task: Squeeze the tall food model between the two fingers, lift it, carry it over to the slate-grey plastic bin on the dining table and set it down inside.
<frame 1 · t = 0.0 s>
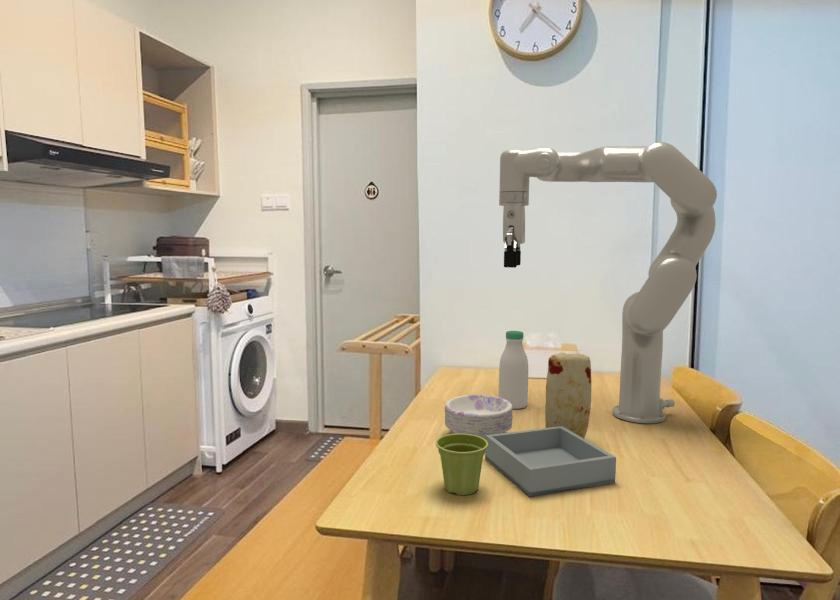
hand: (512, 266, 150), 37 cm above the table, tool pointing down, fingers open, 9 cm apart
food model: (566, 441, 129), on the table
milk bottle: (512, 406, 154), on the table
paper bowls: (478, 438, 130), on the table
bin: (546, 470, 112), on the table
plant pot: (461, 489, 104), on the table
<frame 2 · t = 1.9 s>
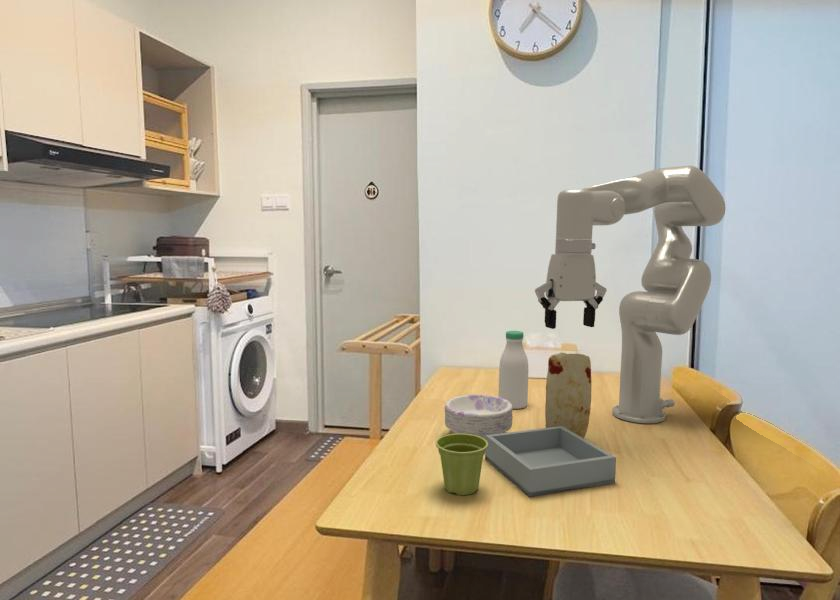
hand: (569, 327, 126), 26 cm above the table, tool pointing down, fingers open, 9 cm apart
nothing on the table moved.
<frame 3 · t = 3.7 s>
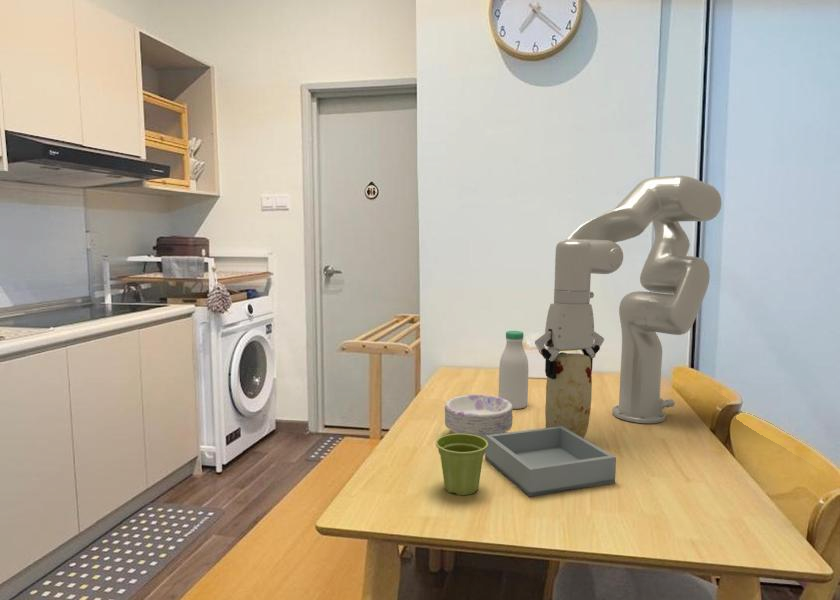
hand: (568, 376, 127), 15 cm above the table, tool pointing down, fingers closed on food model, 8 cm apart
food model: (566, 440, 129), on the table, touching gripper
everything else where it was.
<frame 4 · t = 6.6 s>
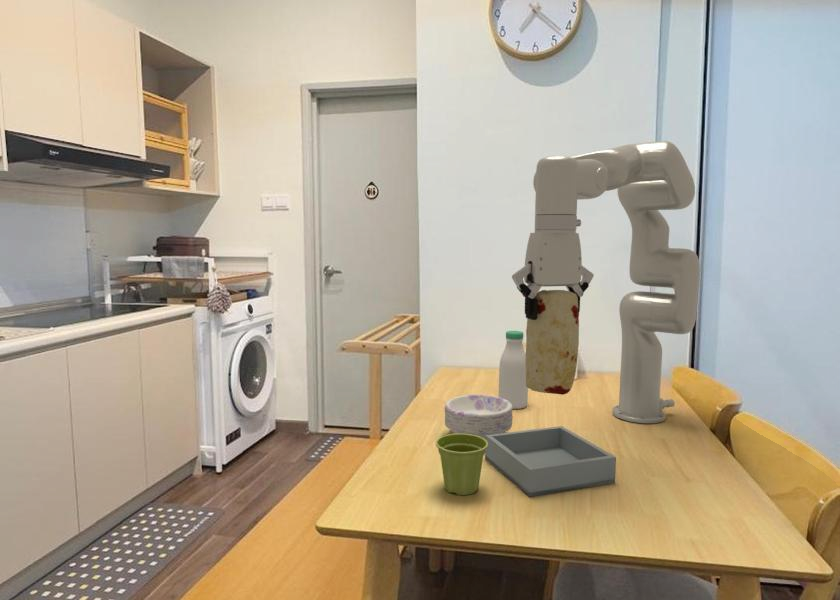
hand: (552, 317, 109), 30 cm above the table, tool pointing down, fingers closed on food model, 8 cm apart
food model: (550, 393, 111), point 15 cm above the table, touching gripper
everything else where it was.
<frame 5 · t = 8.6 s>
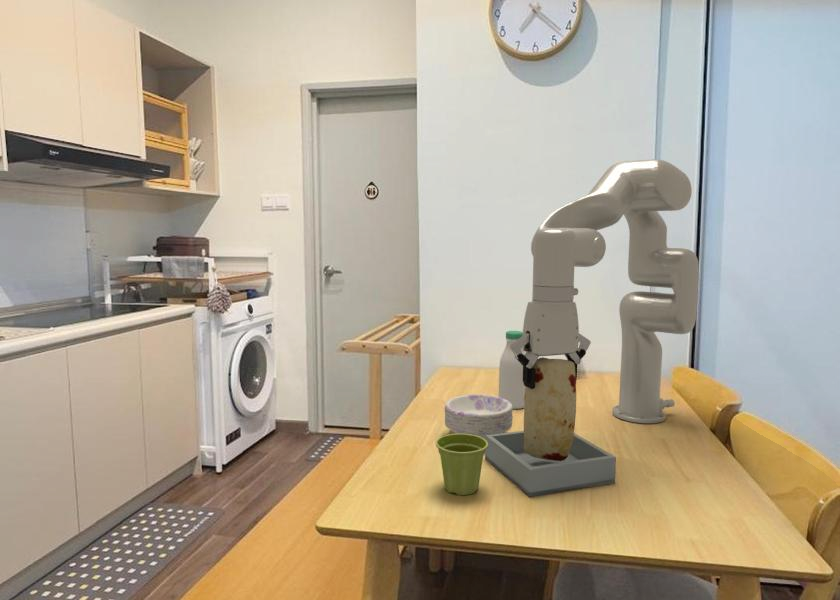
hand: (549, 384, 110), 17 cm above the table, tool pointing down, fingers closed on food model, 8 cm apart
food model: (548, 458, 112), point 2 cm above the table, touching gripper
everything else where it was.
when the fingers open (17 cm above the table, at t = 9.7 s): food model drops 1 cm, resting on bin.
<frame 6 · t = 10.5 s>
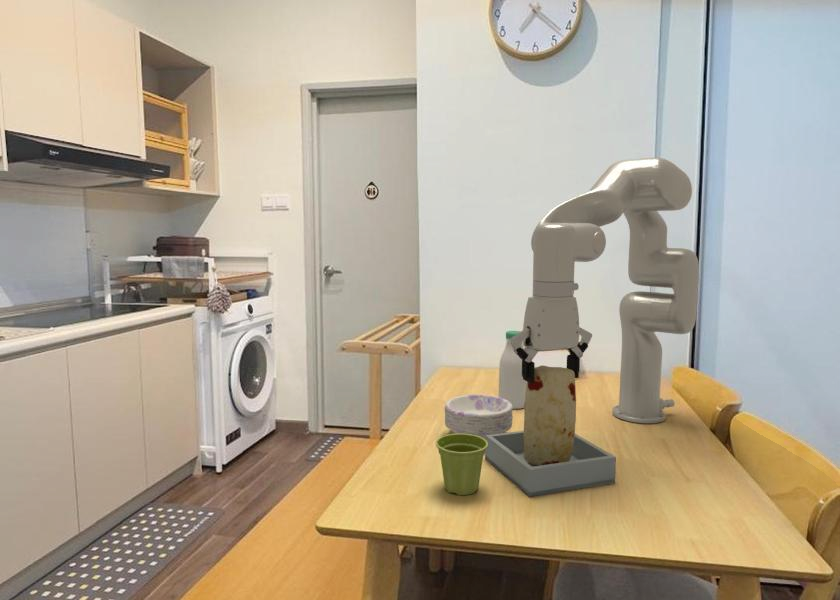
hand: (550, 378, 110), 18 cm above the table, tool pointing down, fingers open, 9 cm apart
food model: (547, 466, 113), point 1 cm above the table, touching bin
everything else where it was.
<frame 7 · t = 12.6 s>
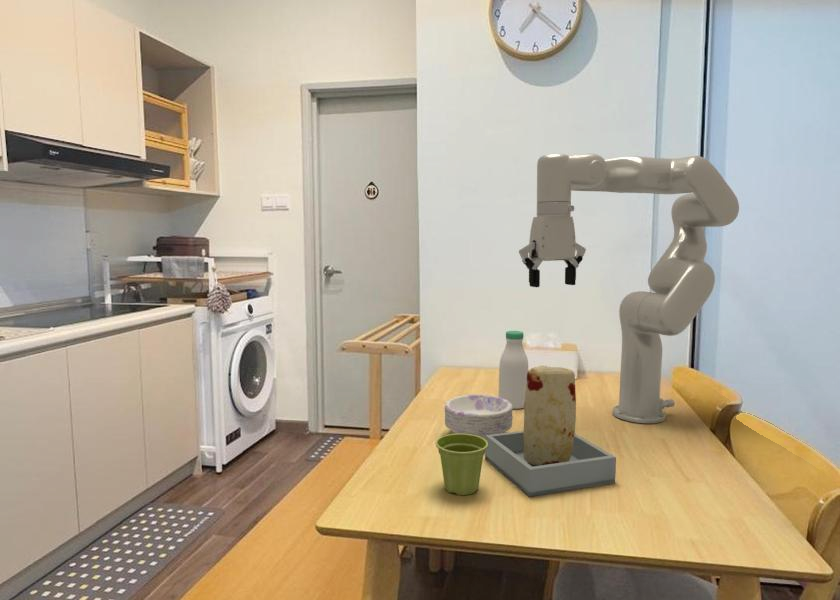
hand: (552, 285, 133), 34 cm above the table, tool pointing down, fingers open, 9 cm apart
nothing on the table moved.
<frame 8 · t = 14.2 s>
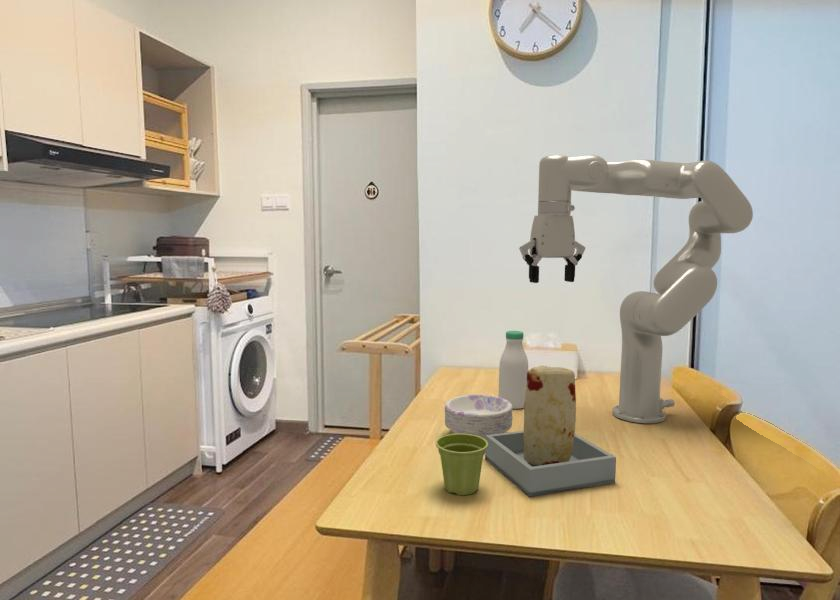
hand: (551, 282, 138), 34 cm above the table, tool pointing down, fingers open, 9 cm apart
nothing on the table moved.
at the end: food model inside the target area on the bin (0.4 cm from its centre), point 0.6 cm above the bin's base; food model tilted 0°; the gripper is holding nothing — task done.
